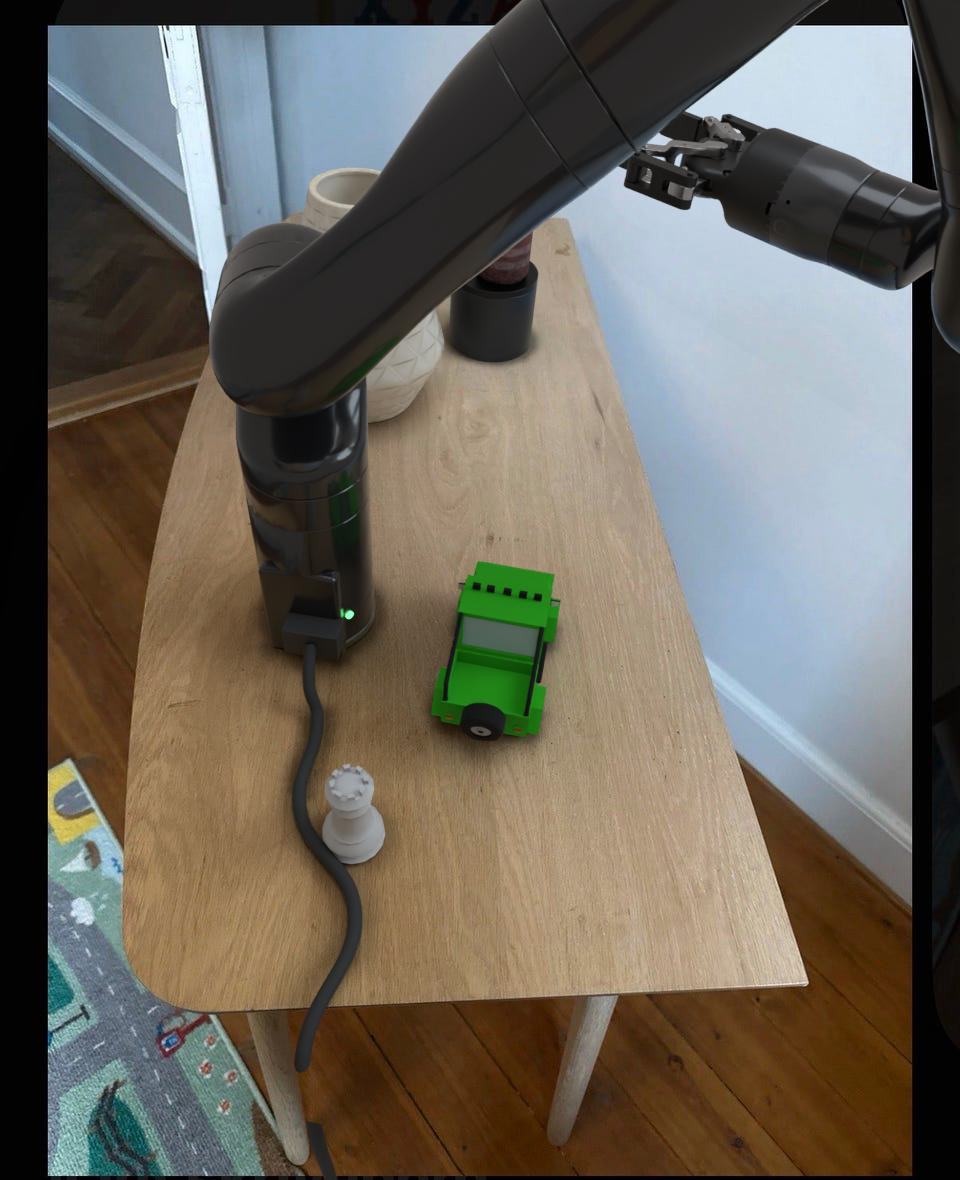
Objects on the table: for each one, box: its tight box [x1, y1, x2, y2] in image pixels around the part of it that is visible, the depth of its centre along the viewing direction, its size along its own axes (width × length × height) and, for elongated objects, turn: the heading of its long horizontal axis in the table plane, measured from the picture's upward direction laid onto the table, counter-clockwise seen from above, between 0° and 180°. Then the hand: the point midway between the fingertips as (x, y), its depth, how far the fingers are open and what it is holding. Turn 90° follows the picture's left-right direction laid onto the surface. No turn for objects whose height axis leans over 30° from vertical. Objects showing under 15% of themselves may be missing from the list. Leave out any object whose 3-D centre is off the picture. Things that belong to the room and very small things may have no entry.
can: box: [479, 231, 534, 284], centre depth 96 cm, size 6×6×14 cm
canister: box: [448, 260, 539, 363], centre depth 105 cm, size 10×10×9 cm
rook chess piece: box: [321, 763, 386, 865], centre depth 60 cm, size 4×4×8 cm
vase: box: [300, 166, 445, 424], centre depth 90 cm, size 18×17×23 cm
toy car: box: [430, 560, 562, 743], centre depth 69 cm, size 8×17×10 cm, turn 170°
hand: (632, 130), depth 74 cm, fingers open, 8 cm apart
